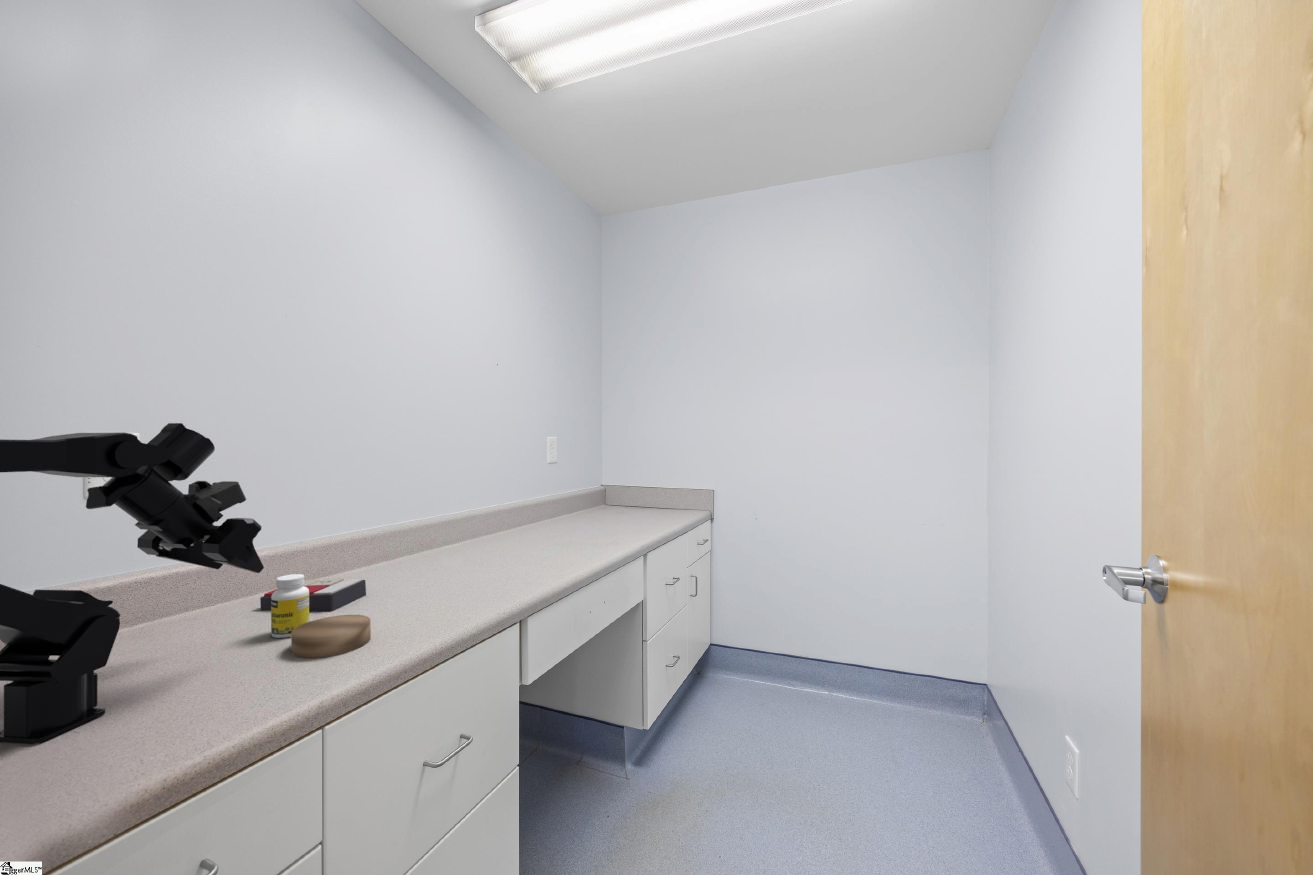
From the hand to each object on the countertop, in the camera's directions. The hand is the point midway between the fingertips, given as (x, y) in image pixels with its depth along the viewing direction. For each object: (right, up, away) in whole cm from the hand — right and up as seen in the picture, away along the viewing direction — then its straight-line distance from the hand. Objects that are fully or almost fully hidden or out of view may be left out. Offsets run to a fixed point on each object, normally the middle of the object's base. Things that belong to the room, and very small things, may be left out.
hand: (240, 568), depth 82 cm
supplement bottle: (+3, -13, +8) cm, 16 cm away
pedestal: (+13, -13, +2) cm, 19 cm away
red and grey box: (-4, -14, +25) cm, 29 cm away
